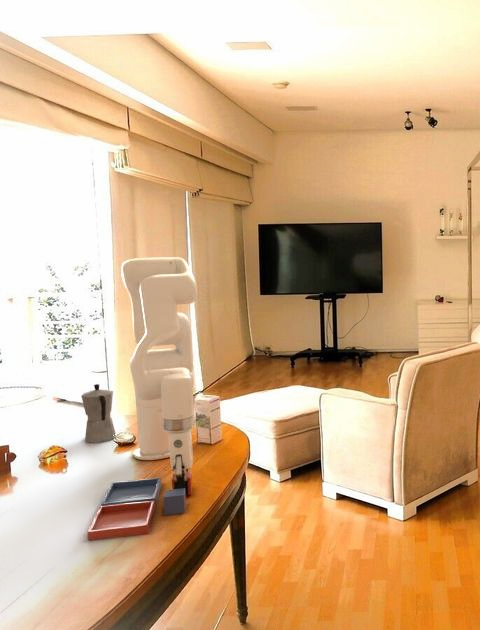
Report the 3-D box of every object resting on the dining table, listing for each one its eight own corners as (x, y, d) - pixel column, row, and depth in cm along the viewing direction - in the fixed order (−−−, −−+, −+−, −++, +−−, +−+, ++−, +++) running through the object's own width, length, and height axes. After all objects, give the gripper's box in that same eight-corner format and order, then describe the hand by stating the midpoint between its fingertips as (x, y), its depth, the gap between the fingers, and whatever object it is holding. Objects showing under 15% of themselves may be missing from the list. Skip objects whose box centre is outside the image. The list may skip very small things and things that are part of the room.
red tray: (100, 514, 161) (100, 506, 161) (155, 508, 164) (154, 500, 164) (88, 540, 148) (87, 531, 147) (147, 533, 151) (147, 524, 150)
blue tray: (112, 489, 176) (111, 482, 176) (161, 484, 179) (161, 477, 179) (101, 511, 162) (101, 503, 162) (155, 505, 166) (155, 498, 165)
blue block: (166, 507, 165) (165, 490, 164) (186, 505, 166) (185, 488, 165) (164, 515, 160) (163, 497, 160) (184, 513, 161) (183, 495, 161)
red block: (174, 489, 175) (173, 473, 174) (192, 487, 176) (191, 471, 175) (172, 496, 171) (171, 479, 170) (191, 494, 172) (190, 477, 171)
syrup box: (222, 439, 217) (220, 395, 215) (211, 445, 211) (209, 399, 209) (207, 437, 219) (205, 394, 217) (196, 443, 213) (193, 398, 211)
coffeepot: (80, 436, 221) (76, 382, 219) (111, 430, 227) (107, 378, 225) (90, 448, 209) (86, 391, 207) (122, 442, 215) (119, 387, 212)
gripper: (192, 431, 164) (196, 503, 166) (196, 412, 180) (199, 478, 182) (159, 434, 162) (163, 506, 164) (166, 414, 178) (170, 480, 180)
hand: (182, 490), depth 173 cm, fingers closed on red block, 4 cm apart
